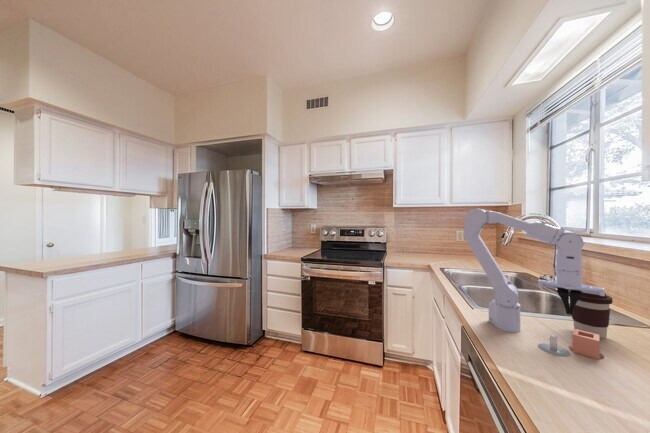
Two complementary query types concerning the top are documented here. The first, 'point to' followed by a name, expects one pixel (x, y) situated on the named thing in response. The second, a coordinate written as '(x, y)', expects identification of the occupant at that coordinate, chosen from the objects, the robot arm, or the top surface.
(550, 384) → the top surface
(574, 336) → the salmon square tube
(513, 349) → the top surface
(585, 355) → the hub
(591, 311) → the coffee cup
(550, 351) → the stand
